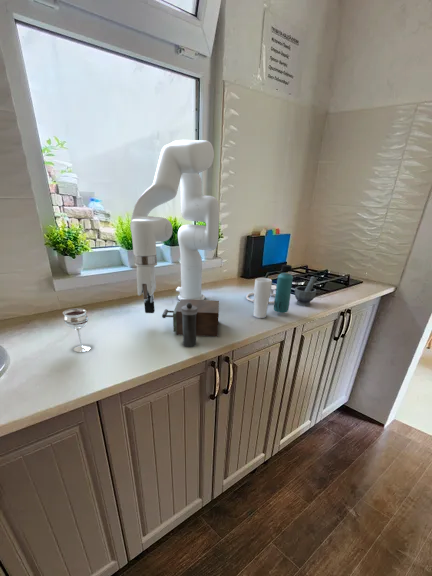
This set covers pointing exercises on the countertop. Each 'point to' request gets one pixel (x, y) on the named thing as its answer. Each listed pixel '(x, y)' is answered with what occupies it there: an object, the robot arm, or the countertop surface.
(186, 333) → the pepper mill
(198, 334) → the cabinet
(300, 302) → the mortar and pestle
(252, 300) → the hand towel holder
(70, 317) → the wineglass
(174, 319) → the drawer
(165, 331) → the countertop surface
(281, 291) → the beverage bottle
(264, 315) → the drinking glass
